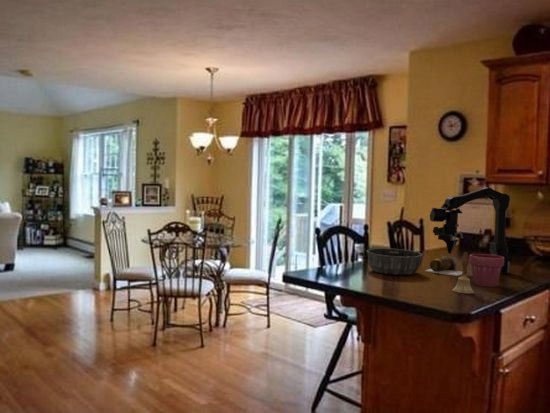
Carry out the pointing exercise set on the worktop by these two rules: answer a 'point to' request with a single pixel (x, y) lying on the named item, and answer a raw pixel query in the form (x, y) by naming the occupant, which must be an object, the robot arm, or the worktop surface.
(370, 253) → the bundt pan
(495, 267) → the plant pot
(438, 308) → the worktop surface
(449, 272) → the mat
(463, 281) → the hand bell
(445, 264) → the condiment
